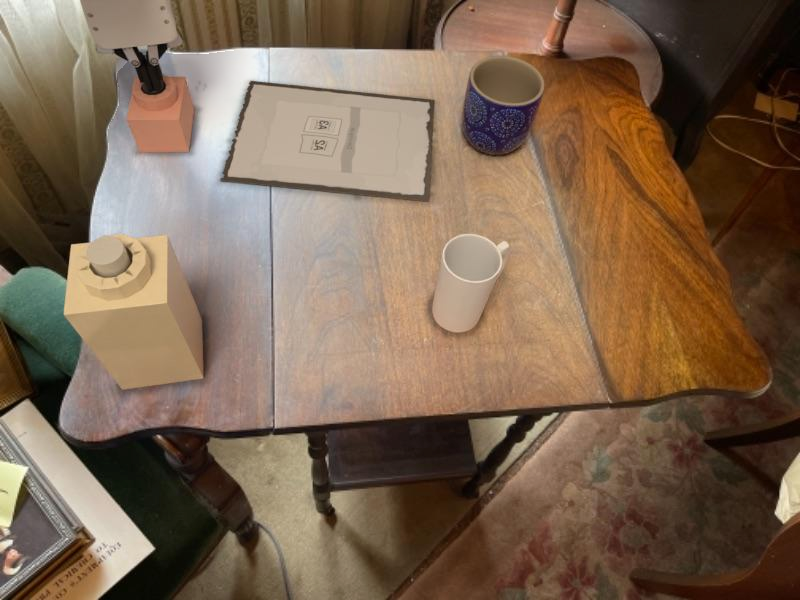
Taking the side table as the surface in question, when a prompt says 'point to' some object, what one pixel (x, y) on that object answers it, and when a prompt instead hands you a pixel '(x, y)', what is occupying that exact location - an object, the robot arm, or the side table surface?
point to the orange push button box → (162, 116)
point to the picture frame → (333, 141)
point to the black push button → (153, 89)
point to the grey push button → (108, 256)
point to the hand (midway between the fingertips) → (153, 84)
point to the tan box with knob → (137, 314)
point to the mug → (466, 280)
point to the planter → (501, 103)
